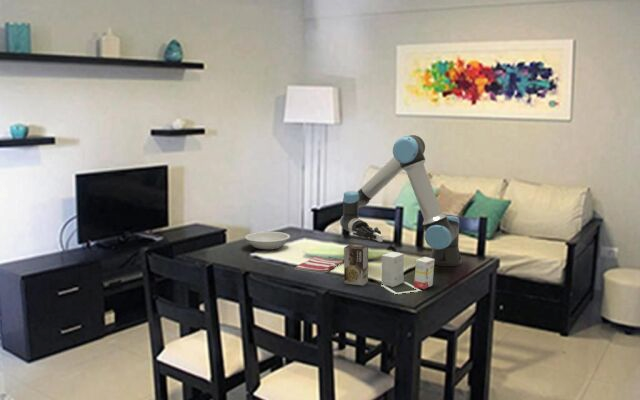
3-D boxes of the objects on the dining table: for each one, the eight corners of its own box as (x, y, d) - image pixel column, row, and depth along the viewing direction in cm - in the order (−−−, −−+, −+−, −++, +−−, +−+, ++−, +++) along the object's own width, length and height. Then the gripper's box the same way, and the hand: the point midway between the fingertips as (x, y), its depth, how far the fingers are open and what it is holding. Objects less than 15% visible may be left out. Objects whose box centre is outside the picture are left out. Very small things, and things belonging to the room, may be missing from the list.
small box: (391, 280, 271) (391, 251, 269) (403, 282, 267) (404, 253, 265) (380, 284, 265) (381, 254, 263) (393, 287, 261) (393, 257, 259)
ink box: (424, 289, 256) (425, 261, 255) (413, 287, 259) (415, 259, 258) (433, 285, 263) (435, 258, 262) (422, 283, 266) (424, 256, 264)
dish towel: (346, 262, 303) (346, 257, 302) (326, 274, 282) (326, 269, 281) (315, 258, 310) (315, 253, 309) (293, 270, 289) (293, 265, 288)
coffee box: (368, 282, 268) (368, 245, 266) (363, 286, 263) (363, 249, 260) (349, 279, 272) (349, 243, 270) (343, 283, 266) (343, 247, 264)
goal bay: (406, 282, 267) (406, 281, 267) (421, 291, 255) (421, 290, 255) (380, 285, 263) (380, 284, 263) (395, 294, 251) (395, 293, 251)
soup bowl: (288, 254, 317) (288, 241, 316) (242, 253, 318) (241, 241, 316) (291, 243, 341) (291, 231, 340) (248, 243, 341) (248, 231, 340)
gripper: (370, 234, 296) (394, 245, 274) (346, 236, 292) (367, 248, 270) (371, 219, 295) (394, 229, 273) (346, 220, 290) (367, 231, 269)
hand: (381, 238), depth 272 cm, fingers closed
